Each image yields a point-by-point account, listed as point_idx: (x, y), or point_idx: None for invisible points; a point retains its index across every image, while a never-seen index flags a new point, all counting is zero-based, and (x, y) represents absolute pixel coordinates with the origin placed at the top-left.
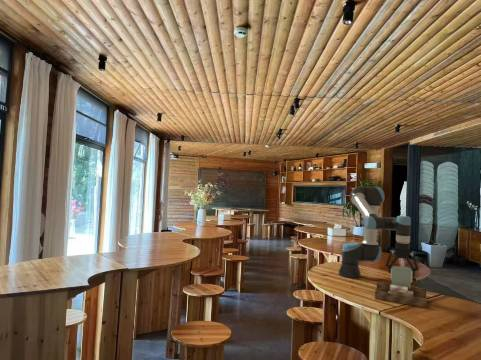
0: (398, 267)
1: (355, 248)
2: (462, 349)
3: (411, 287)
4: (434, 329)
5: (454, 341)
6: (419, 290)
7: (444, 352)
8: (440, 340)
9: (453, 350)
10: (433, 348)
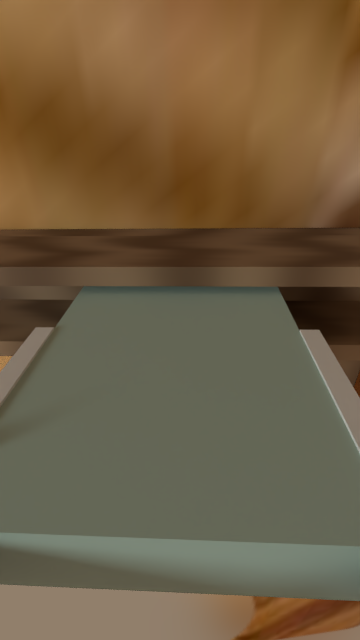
0: (91, 580)
1: None
2: (336, 618)
3: (293, 283)
4: None
5: (333, 600)
6: (355, 357)
7: (286, 633)
8: (294, 604)
9: (311, 625)
10: (266, 628)
